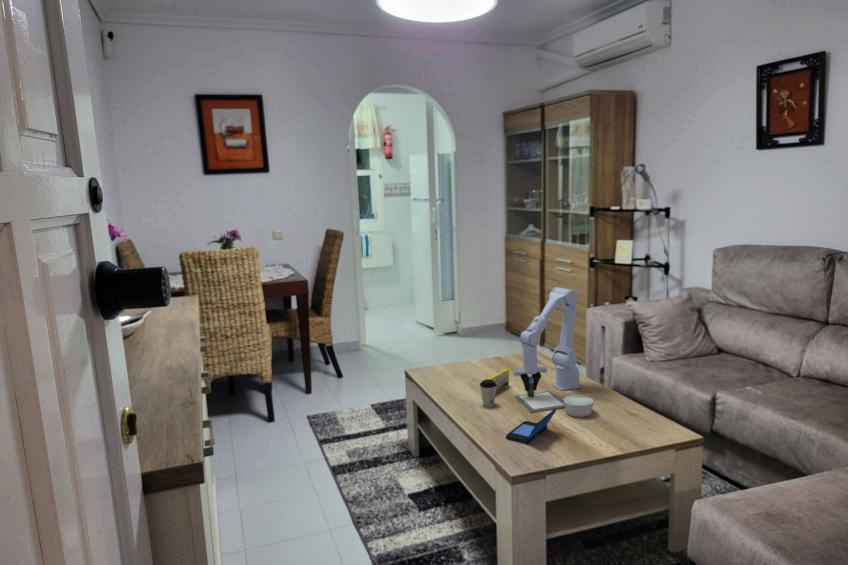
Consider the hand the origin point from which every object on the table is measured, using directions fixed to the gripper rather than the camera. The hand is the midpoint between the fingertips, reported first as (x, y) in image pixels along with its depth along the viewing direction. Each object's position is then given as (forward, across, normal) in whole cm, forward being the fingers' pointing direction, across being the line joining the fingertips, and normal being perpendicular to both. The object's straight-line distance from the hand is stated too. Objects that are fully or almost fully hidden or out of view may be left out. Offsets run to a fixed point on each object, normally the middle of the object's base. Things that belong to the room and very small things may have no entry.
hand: (530, 390), depth 241 cm
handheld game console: (+4, -14, -33) cm, 36 cm away
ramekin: (+4, +11, -21) cm, 24 cm away
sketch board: (+3, +2, -6) cm, 7 cm away
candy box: (+4, -10, +12) cm, 16 cm away
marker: (+2, 0, 0) cm, 2 cm away
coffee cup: (+3, -19, -1) cm, 19 cm away
